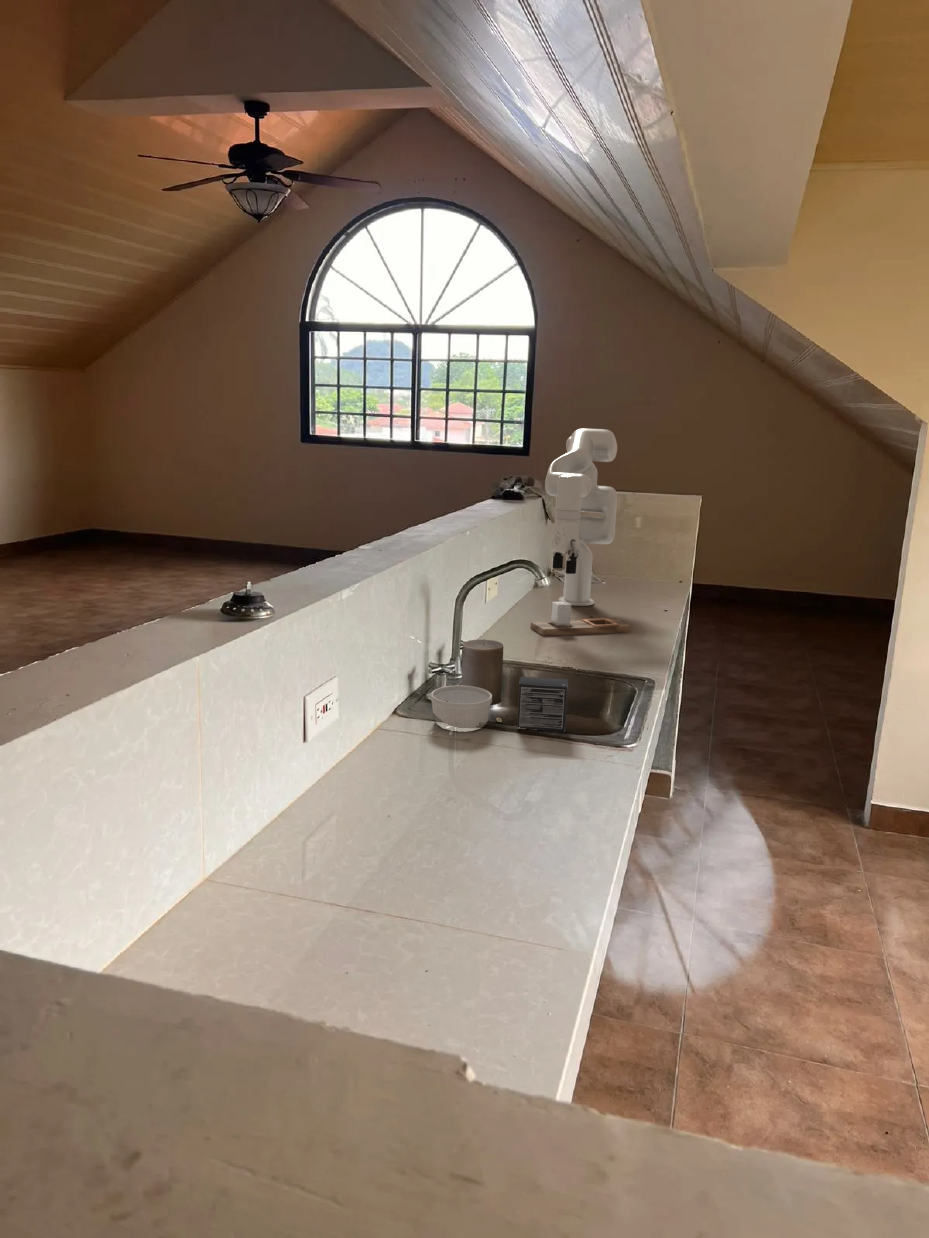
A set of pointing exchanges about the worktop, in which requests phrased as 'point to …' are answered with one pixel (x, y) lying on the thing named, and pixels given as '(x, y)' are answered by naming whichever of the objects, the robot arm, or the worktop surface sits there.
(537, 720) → the small box
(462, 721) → the ramekin
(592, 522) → the robot arm
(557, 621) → the grey square block
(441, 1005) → the worktop surface
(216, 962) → the worktop surface
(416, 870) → the worktop surface
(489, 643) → the pillar candle
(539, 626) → the tan flat board
